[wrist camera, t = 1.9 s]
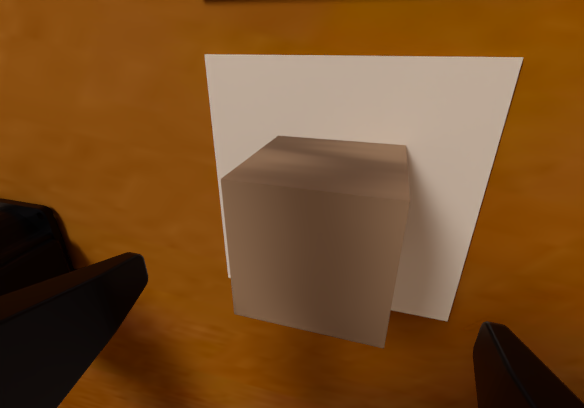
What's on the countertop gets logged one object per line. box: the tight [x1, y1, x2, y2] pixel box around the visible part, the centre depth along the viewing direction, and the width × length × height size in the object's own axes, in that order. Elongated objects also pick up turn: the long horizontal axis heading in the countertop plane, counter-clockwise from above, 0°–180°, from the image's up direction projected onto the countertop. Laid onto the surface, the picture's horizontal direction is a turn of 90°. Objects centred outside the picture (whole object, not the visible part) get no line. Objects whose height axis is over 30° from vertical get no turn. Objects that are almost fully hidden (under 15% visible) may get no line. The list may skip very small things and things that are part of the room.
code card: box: [205, 54, 523, 321], centre depth 14 cm, size 11×11×1 cm
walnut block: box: [221, 136, 410, 348], centre depth 12 cm, size 5×5×5 cm
